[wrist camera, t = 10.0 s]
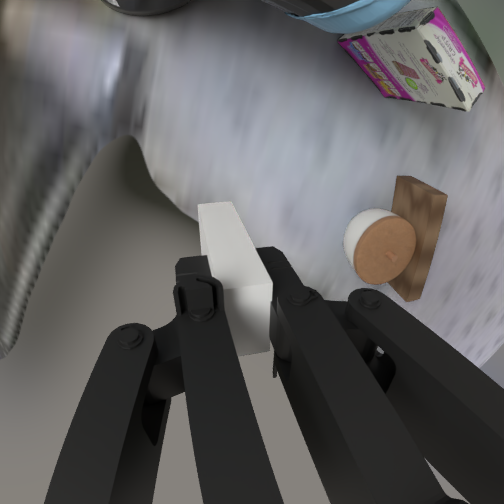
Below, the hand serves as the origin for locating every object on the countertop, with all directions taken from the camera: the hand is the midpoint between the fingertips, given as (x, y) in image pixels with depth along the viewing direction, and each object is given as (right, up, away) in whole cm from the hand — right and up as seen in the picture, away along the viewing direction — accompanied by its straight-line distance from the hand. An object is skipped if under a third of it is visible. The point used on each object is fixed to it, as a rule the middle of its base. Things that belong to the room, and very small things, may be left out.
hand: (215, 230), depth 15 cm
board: (+26, +3, +36) cm, 45 cm away
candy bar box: (+18, +26, +22) cm, 38 cm away
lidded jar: (+19, +3, +35) cm, 40 cm away
